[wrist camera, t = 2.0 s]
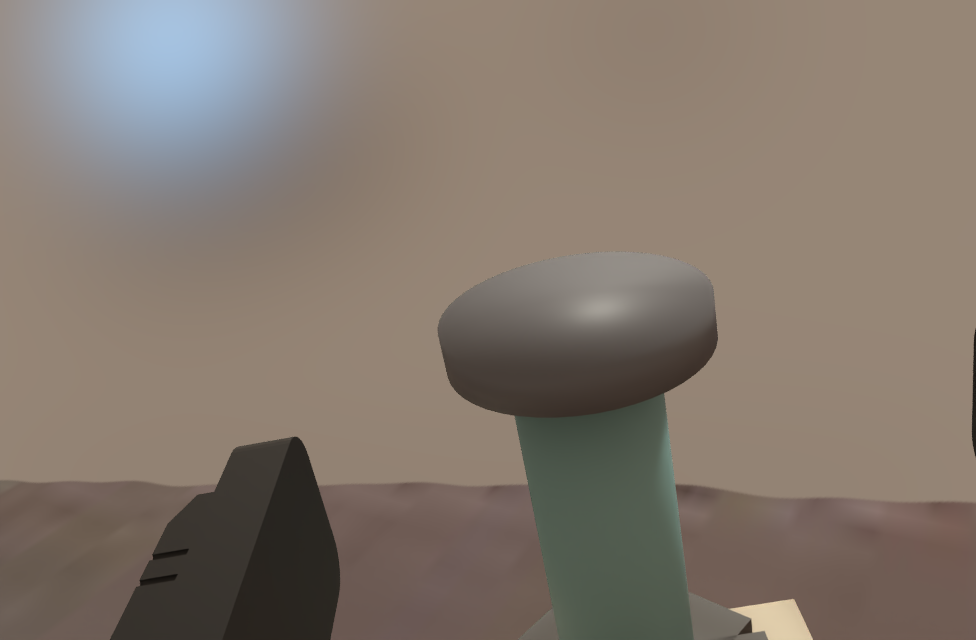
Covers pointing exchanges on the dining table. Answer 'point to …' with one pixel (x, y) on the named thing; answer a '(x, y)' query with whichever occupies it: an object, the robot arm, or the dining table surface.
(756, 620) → the eye board
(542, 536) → the wheel peg
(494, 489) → the dining table surface
